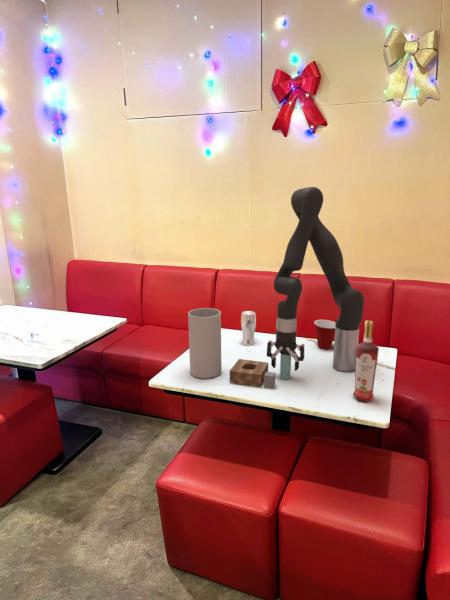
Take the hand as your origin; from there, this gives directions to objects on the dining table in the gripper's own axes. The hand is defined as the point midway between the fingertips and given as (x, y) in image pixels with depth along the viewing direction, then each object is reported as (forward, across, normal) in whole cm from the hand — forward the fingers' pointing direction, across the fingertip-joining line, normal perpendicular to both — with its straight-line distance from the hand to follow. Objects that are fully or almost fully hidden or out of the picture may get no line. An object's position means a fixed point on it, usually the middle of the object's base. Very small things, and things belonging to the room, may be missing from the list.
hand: (284, 368), depth 164 cm
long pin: (+4, 0, 0) cm, 4 cm away
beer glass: (+4, +24, -32) cm, 40 cm away
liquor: (+4, -29, +8) cm, 31 cm away
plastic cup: (+4, -11, -37) cm, 39 cm away
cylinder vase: (+4, +31, +5) cm, 31 cm away
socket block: (+4, +13, +5) cm, 14 cm away
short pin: (+4, +4, +9) cm, 11 cm away
